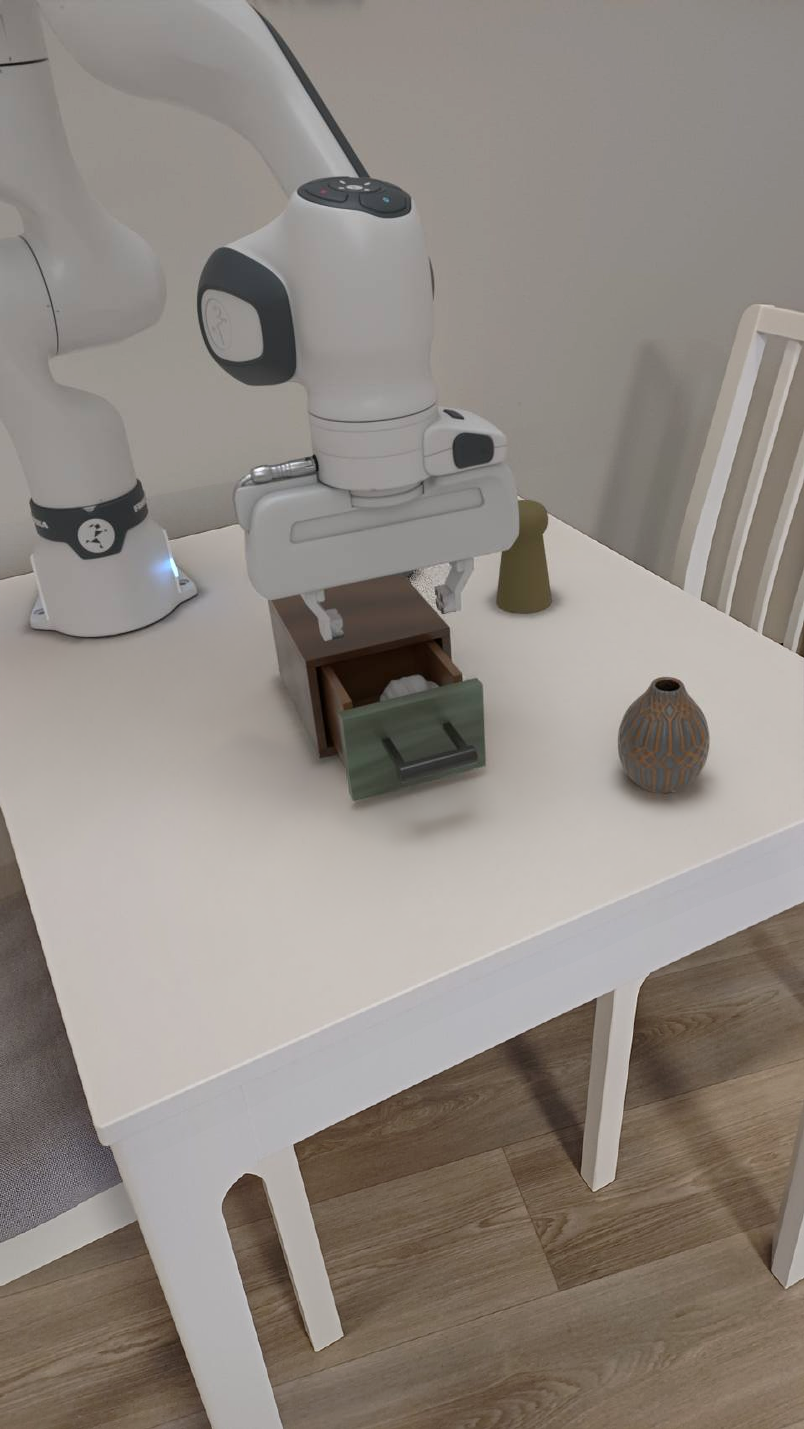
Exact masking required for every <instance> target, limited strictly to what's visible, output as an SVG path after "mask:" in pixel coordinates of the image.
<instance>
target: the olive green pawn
mask: <svg viewBox="0 0 804 1429" xmlns="http://www.w3.org/2000/svg"><path fill="white" fill-rule="evenodd" d="M518 508H519V535H518V537H517V539H516V540H515V542H514V543H513V545H512V546H511V548H510V549H508V550H506V551H501V553H500V564H499V572H498V581H497V592H496V601H495V602H496V605H497V607H498V608H500V609H501V610H503V611H505V612H509V613H513V614H531V613H538V612H541V611H543V610H545V609H547V608H548V607H549V606H551V604H552V603H553V598H552V591H551V582H550V578H549V576H550V575H549V570H548V561H547V555H546V548H545V541H544V534H545V532H546V531H547V529H548V526H549V515H548V511H547V508H546V507H545V505H544V504H542V503H541V502H538V501H536V500H532V499H518Z"/></svg>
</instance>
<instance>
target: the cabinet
mask: <svg viewBox="0 0 804 1429" xmlns="http://www.w3.org/2000/svg"><path fill="white" fill-rule="evenodd" d="M324 596H325V600H324V601H323V602H319V603H320V604H321V605H322V607H323V608H324V609H325V610H330V609H335V608H336V610H337V611H338V614H340V616H341V617H342V621H343V627H342V629H343V631H344V637H341V638H337V639H333V640H328V641H325V640H324V639H323V637H322V635H321V633H320V629H319V622H318V617H317V616H316V615H315V614H314V613H313V612H312V611H311V609H310V608H309V607H308V606H307V605H306V603H305V601H304V600H303V598H302V597H301V595H300V594H299V595H294V596H290V597H285V598H280V599H276V600H268V599H267V604H268V610H269V616H270V622H271V628H272V634H273V640H274V646H275V647H274V648H275V652H276V659H277V664H278V669H279V670H278V671H279V676H280V681H281V684H282V685H283V687H284V689H285V692H286V694H287V695H288V697H289V699H290V702H291V704H292V705H293V708H294V709H295V711H296V714H297V715H298V717H299V719H300V721H301V724H302V725H303V727H304V729H305V731H306V734H307V735H308V737H309V740H310V741H311V744H312V745H313V747H314V750H315V751H316V753H317V756H318V757H319V758H320V759H321V758H324V757H325V758H326V757H328V756H333V755H336V754H338V752H337V750H336V748H335V746H334V744H333V742H332V741H331V739H330V737H329V735H328V733H327V731H326V729H325V727H324V721H323V714H322V707H321V700H320V693H319V686H318V679H317V672H316V667H319V666H323V665H327V664H331V663H336V662H340V661H344V660H348V659H353V658H357V657H361V656H365V655H370V654H374V653H378V652H382V651H387V650H391V649H395V648H399V647H404V646H408V645H412V644H416V643H421V642H425V641H429V640H433V639H434V640H435V642H436V643H437V644H438V645H439V646H440V648H441V649H442V650H443V651H444V652H445V654H446V655H447V656H448V657H449V658H450V660H451V661H452V662H453V658H452V655H453V654H452V641H451V639H452V638H451V627H450V625H448V624H447V622H446V621H445V620H444V619H443V618H442V617H441V616H440V614H439V613H438V612H437V611H436V610H435V609H434V607H433V606H431V604H430V603H429V602H428V601H427V600H426V599H425V597H424V596H423V595H422V594H421V592H419V590H418V589H417V588H416V587H415V586H414V585H413V584H412V583H411V582H410V580H409V579H408V577H405V576H404V575H403V574H402V573H397V574H393V575H388V576H383V577H379V578H374V579H369V580H365V581H360V582H355V583H351V584H346V585H341V586H337V587H332V588H327V589H324Z"/></svg>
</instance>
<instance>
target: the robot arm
mask: <svg viewBox="0 0 804 1429" xmlns="http://www.w3.org/2000/svg"><path fill="white" fill-rule="evenodd" d="M37 4H38V5H37ZM38 6H39V8H40V11H41V12H42V14H43V16H44V19H45V20H46V21H47V23H48V25H49V27H50V29H51V30H52V32H53V34H54V35H55V36H56V38H57V39H58V41H59V43H61V45H62V47H64V49H65V50H66V52H67V53H68V54H69V55H70V56H71V57H72V58H73V60H74V61H75V62H76V63H77V64H78V66H80V67H81V68H82V69H83V70H84V71H85V72H86V73H87V74H89V75H90V76H91V77H92V78H94V79H96V80H97V81H99V82H101V83H103V84H105V85H106V86H108V87H110V88H112V89H114V90H116V91H118V92H121V93H123V94H126V95H129V96H133V97H136V98H141V99H144V100H149V101H154V102H158V103H162V104H166V105H170V106H174V107H177V108H182V109H184V110H187V111H190V112H193V113H197V114H199V115H201V116H204V117H207V118H208V119H212V120H214V121H216V122H218V123H220V124H223V125H224V126H226V127H228V128H229V129H231V130H233V131H234V132H236V133H237V134H239V136H241V137H242V138H243V139H245V140H246V141H247V142H248V143H249V144H250V145H251V146H252V147H253V148H254V150H256V152H257V153H258V155H259V156H260V157H261V159H262V160H263V162H264V163H265V165H266V166H267V168H268V170H269V171H270V173H271V174H272V176H273V177H274V179H275V181H276V182H277V183H278V185H279V186H280V188H281V190H282V192H283V193H284V194H285V196H286V197H287V199H288V202H287V205H286V206H285V209H284V210H283V211H282V212H281V213H280V214H279V215H277V217H275V218H274V219H273V220H271V221H270V222H268V223H267V224H266V225H264V226H263V227H261V228H260V229H257V230H256V231H254V232H251V233H250V234H247V235H245V236H243V237H241V238H239V239H237V240H234V241H232V242H230V243H228V244H226V245H224V246H222V247H218V248H216V249H215V250H214V251H213V252H212V253H211V254H210V255H209V257H208V258H207V260H206V262H205V264H204V266H203V268H202V271H201V273H200V277H199V279H198V280H199V281H198V284H197V285H198V286H197V293H196V313H197V319H198V325H199V329H200V333H201V337H202V339H203V343H204V345H205V348H206V350H207V351H208V353H209V354H210V356H211V358H212V359H213V360H214V362H215V363H216V364H217V365H218V366H219V367H220V368H221V369H222V370H223V371H224V372H225V373H227V374H228V375H229V376H230V377H232V378H233V379H235V380H236V381H238V382H240V383H242V384H244V385H247V386H250V387H251V386H252V387H266V386H267V387H268V386H270V387H271V386H272V387H273V386H274V387H275V386H278V385H282V384H286V383H297V384H299V385H301V386H302V387H303V388H304V389H305V391H306V395H307V405H306V406H307V408H306V409H307V416H308V423H309V424H308V425H309V432H310V441H311V451H312V455H311V456H304V457H300V458H295V459H290V460H287V461H284V462H280V463H276V464H271V465H270V464H260V465H258V466H254V467H252V468H250V470H249V473H248V474H246V475H244V476H242V477H241V478H240V479H239V480H238V481H237V483H235V486H234V487H233V491H232V504H233V511H234V517H235V520H236V522H237V523H238V525H239V527H240V528H241V529H242V530H243V531H244V553H245V565H246V572H247V576H248V579H249V582H250V583H251V586H252V587H253V589H254V590H255V592H256V593H258V594H259V595H260V596H262V597H263V598H264V599H266V600H267V601H268V600H276V599H280V598H285V597H290V596H294V595H299V594H300V595H301V597H302V598H303V600H304V601H305V603H306V605H307V606H308V607H309V608H310V609H311V611H312V612H313V613H314V614H315V615H316V616H317V617H318V622H319V629H320V633H321V635H322V637H323V639H324V640H325V641H328V640H333V639H337V638H341V637H344V631H343V629H342V627H343V621H342V617H341V616H340V614H338V611H337V610H336V608H335V609H330V610H325V609H324V608H323V607H322V605H321V604H320V603H319V602H323V601H324V600H325V596H324V589H327V588H332V587H337V586H341V585H346V584H351V583H355V582H360V581H365V580H369V579H374V578H379V577H383V576H388V575H393V574H397V573H402V572H407V571H411V570H413V571H416V570H419V569H425V568H429V567H434V566H438V565H444V564H449V565H450V566H451V568H450V570H449V572H448V575H447V577H446V579H445V581H444V583H443V584H439V585H436V586H434V595H435V596H436V598H435V607H436V609H437V610H438V611H439V612H440V614H442V615H447V614H451V613H455V612H460V611H462V594H461V593H462V592H463V591H464V588H465V587H466V585H467V583H468V582H469V579H470V577H471V575H472V574H473V572H474V570H475V563H474V562H475V559H474V558H478V557H482V556H486V555H490V554H491V555H492V554H495V553H496V554H497V553H500V552H501V553H502V551H506V550H508V549H510V548H511V546H512V545H513V543H514V542H515V540H516V539H517V537H518V535H519V508H518V500H519V499H518V498H519V497H518V491H517V485H516V479H515V477H514V473H513V472H512V470H511V468H510V467H508V465H507V464H505V463H504V462H503V461H504V460H505V459H506V457H507V453H508V438H507V436H506V434H505V433H503V431H502V430H501V429H500V428H499V427H497V426H495V425H494V424H493V423H492V422H490V421H489V420H487V419H486V418H483V417H481V416H480V415H478V414H476V413H474V412H471V411H469V410H465V409H462V408H454V407H447V406H441V405H439V396H438V389H437V385H436V382H435V380H434V376H433V373H432V368H431V351H432V345H433V340H434V336H435V312H434V298H435V275H434V269H433V265H432V261H431V259H430V255H429V250H428V244H427V238H426V234H425V229H424V227H423V222H422V218H421V216H420V213H419V209H418V208H417V205H416V202H415V201H414V199H413V197H412V196H411V195H410V193H408V192H407V191H405V190H403V189H402V188H401V187H400V186H398V185H397V184H394V183H391V182H389V181H386V180H382V179H378V178H372V177H371V176H370V174H369V172H368V171H367V170H366V168H365V167H364V164H363V163H362V162H361V159H360V158H359V157H358V155H357V154H356V152H355V150H354V148H353V147H352V145H351V144H350V142H349V140H348V138H347V137H346V135H345V134H344V132H343V130H342V129H341V128H340V126H339V124H338V123H337V121H336V120H335V118H334V116H333V114H332V113H331V111H330V110H329V108H328V107H327V105H326V103H325V102H324V100H323V99H322V96H321V95H320V94H319V92H318V91H317V89H316V87H315V85H314V84H313V83H312V81H311V79H310V77H309V76H308V74H307V73H306V71H305V69H304V68H303V67H302V64H300V61H299V60H298V58H297V57H296V56H295V55H294V52H293V50H291V49H290V47H289V46H288V44H287V43H286V41H285V40H284V38H283V37H282V36H281V34H280V33H279V31H278V30H277V29H276V28H275V27H274V25H273V24H272V23H271V22H270V21H269V19H267V18H266V17H265V15H263V14H261V12H260V11H258V9H256V7H254V6H253V5H252V4H250V3H249V2H247V0H0V202H2V203H5V204H8V205H10V206H13V207H15V209H16V211H17V212H18V215H19V216H20V219H21V223H22V226H23V233H22V234H17V235H16V236H12V237H3V238H0V421H1V422H2V424H3V425H4V427H5V429H6V431H7V432H8V435H9V437H10V439H11V440H12V441H11V442H12V444H13V447H14V449H15V451H16V454H17V456H18V460H19V463H20V465H21V467H22V470H23V474H24V477H25V480H26V483H27V486H28V489H29V493H30V496H31V497H30V499H29V501H28V503H29V508H30V517H31V520H32V522H33V523H34V527H35V530H36V533H37V534H38V535H39V538H38V542H37V544H36V545H35V547H34V548H33V550H32V553H31V554H30V556H29V558H30V565H31V568H32V570H33V576H34V578H35V582H36V586H37V590H38V597H37V599H36V602H35V604H34V606H33V609H32V611H31V614H30V616H29V623H30V628H32V629H34V630H35V629H36V630H46V631H47V630H48V631H49V630H50V631H56V632H59V633H62V634H65V635H69V636H72V637H73V636H74V637H84V638H97V637H107V636H114V635H119V634H125V633H128V632H132V631H135V630H138V629H141V628H144V627H147V626H149V625H151V624H154V623H156V622H157V621H159V620H161V619H163V618H165V617H166V616H167V615H169V614H170V613H171V612H172V611H174V609H176V607H177V606H178V605H180V604H181V603H182V602H185V601H187V600H189V599H191V598H193V597H194V596H196V595H197V594H198V588H197V585H196V583H195V582H194V581H193V580H192V579H191V578H190V577H189V576H188V575H187V574H186V573H185V572H183V570H182V569H180V568H179V567H178V566H177V565H176V563H175V561H174V556H173V553H172V552H173V551H172V548H171V545H170V540H169V535H168V533H167V530H166V529H165V528H163V527H161V525H160V524H159V523H157V522H155V521H154V520H152V519H151V518H150V517H149V508H148V504H147V495H146V492H145V490H144V488H143V484H142V481H141V480H140V479H139V478H138V477H137V476H136V471H135V467H134V466H135V465H134V461H133V457H132V452H131V449H130V444H129V440H128V435H127V432H126V428H125V422H124V419H123V417H122V414H121V413H120V412H119V410H118V409H117V408H116V407H115V406H114V405H113V404H112V403H111V402H110V401H109V400H107V399H106V398H104V397H103V396H100V395H98V394H95V393H93V392H90V391H87V390H83V389H80V388H77V387H73V386H68V385H64V384H61V383H58V382H56V380H55V378H54V376H53V374H52V372H51V369H50V364H49V361H50V360H52V359H55V358H56V357H61V356H67V355H72V354H77V353H81V352H86V351H93V350H97V349H102V348H108V347H112V346H116V345H119V344H121V343H124V342H127V341H129V340H131V339H134V338H136V337H138V336H140V335H142V334H143V335H144V334H145V333H146V332H149V331H151V330H153V329H155V328H156V327H157V326H158V324H159V323H160V321H161V320H162V317H163V314H164V312H165V308H166V303H167V294H168V293H167V281H166V276H165V275H166V274H165V272H164V269H163V266H162V263H161V261H160V260H159V257H158V255H157V254H156V252H155V251H154V249H153V248H152V246H151V245H150V244H149V243H148V242H147V240H145V239H144V238H143V237H142V236H141V235H140V234H139V233H137V231H134V230H133V229H131V228H130V227H128V226H127V225H125V224H124V223H123V222H121V221H120V220H118V219H117V218H116V217H114V216H113V215H112V214H111V213H110V212H109V211H108V210H107V209H106V208H105V207H104V206H103V205H102V204H101V203H100V201H99V200H98V199H97V198H96V197H95V195H94V194H93V193H92V191H91V190H90V188H89V187H88V186H87V184H86V182H85V180H84V178H83V177H82V175H81V173H80V171H79V169H78V167H77V165H76V162H75V160H74V159H75V158H74V156H73V154H72V152H71V148H70V145H69V140H68V138H67V134H66V130H65V126H64V122H63V118H62V113H61V110H60V106H59V101H58V98H57V92H56V87H55V83H54V78H53V73H52V66H51V63H50V58H49V52H48V49H47V43H46V39H45V34H44V30H43V26H42V22H41V18H40V14H39V9H38ZM249 481H251V482H249Z"/></svg>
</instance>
